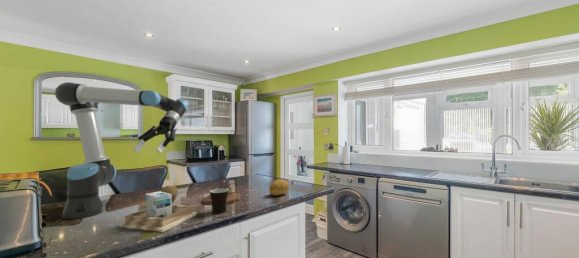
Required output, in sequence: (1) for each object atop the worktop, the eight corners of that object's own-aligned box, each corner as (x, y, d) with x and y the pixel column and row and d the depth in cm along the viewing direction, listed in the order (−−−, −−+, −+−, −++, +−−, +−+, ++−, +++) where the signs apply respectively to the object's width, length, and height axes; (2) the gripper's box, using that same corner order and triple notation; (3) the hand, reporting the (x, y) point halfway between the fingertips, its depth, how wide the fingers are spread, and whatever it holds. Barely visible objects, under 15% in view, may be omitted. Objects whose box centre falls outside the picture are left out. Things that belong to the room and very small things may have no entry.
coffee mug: (223, 214, 118) (223, 193, 118) (206, 213, 119) (206, 192, 119) (234, 207, 129) (233, 187, 129) (218, 206, 131) (218, 187, 131)
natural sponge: (158, 207, 131) (158, 187, 131) (159, 203, 139) (159, 184, 140) (177, 205, 135) (177, 186, 135) (178, 201, 143) (177, 183, 143)
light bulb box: (172, 219, 109) (172, 193, 109) (156, 223, 104) (156, 196, 104) (160, 214, 115) (160, 190, 116) (144, 218, 110) (144, 193, 110)
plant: (244, 196, 153) (244, 177, 153) (233, 205, 133) (233, 184, 134) (213, 196, 155) (212, 177, 155) (197, 205, 136) (197, 184, 136)
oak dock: (120, 227, 103) (120, 216, 103) (159, 211, 124) (159, 202, 124) (162, 231, 98) (162, 220, 98) (196, 214, 118) (196, 205, 118)
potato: (265, 179, 154) (273, 180, 147) (282, 178, 162) (291, 178, 155) (265, 195, 153) (274, 197, 146) (283, 193, 161) (292, 194, 154)
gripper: (192, 125, 135) (172, 156, 121) (154, 126, 142) (131, 155, 127) (186, 114, 130) (164, 145, 116) (146, 116, 137) (121, 145, 122)
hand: (147, 151), depth 121 cm, fingers open, 13 cm apart
